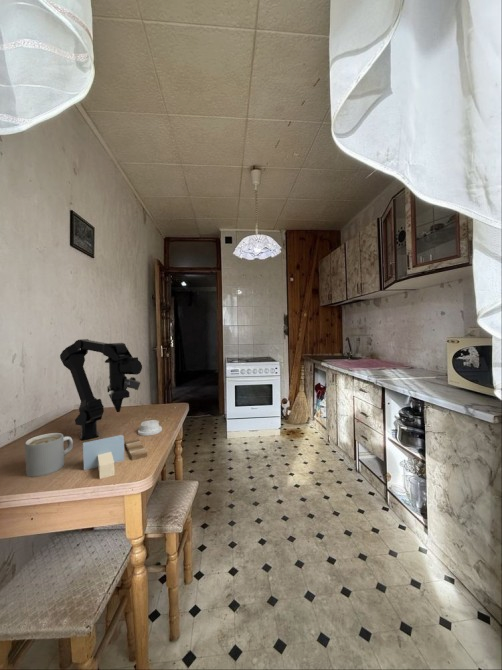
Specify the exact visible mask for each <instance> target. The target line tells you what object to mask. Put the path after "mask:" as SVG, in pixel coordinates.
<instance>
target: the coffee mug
mask: <svg viewBox="0 0 502 670" xmlns="http://www.w3.org/2000/svg"><path fill="white" fill-rule="evenodd" d="M65 442H67V446H66V448H65V449H64V447H65V445H64V443H65ZM24 444H25V445H24V449H25V475H26V476H27V477H30V478H35V477H36V478H38V477H44V476H47V475H50V474H53V473H55V472H58V471H59V470H61V469H62V468H64V466H65V456H66V455H67V454H68V453H70V452H71V451H72V449H73V446H74V440H73V439H72V437H71V436H64V434H63V433H60V432H51V433H45V434H40V435H36V436H35V437H31V438H29V439H28V440H26V441H25V443H24Z"/></svg>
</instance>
